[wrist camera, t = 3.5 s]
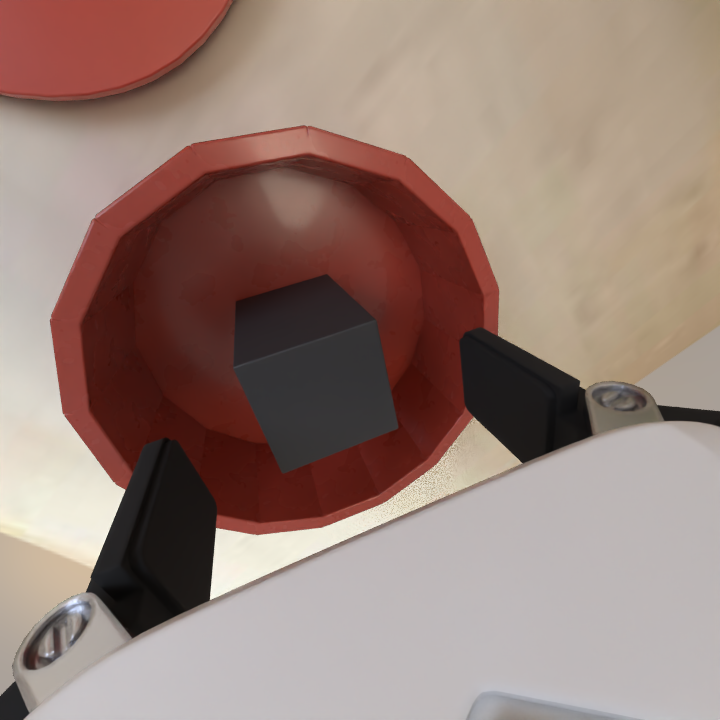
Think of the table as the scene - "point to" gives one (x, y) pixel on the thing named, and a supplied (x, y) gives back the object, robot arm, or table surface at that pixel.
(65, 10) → the lid
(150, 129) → the table surface
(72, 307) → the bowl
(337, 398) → the block
